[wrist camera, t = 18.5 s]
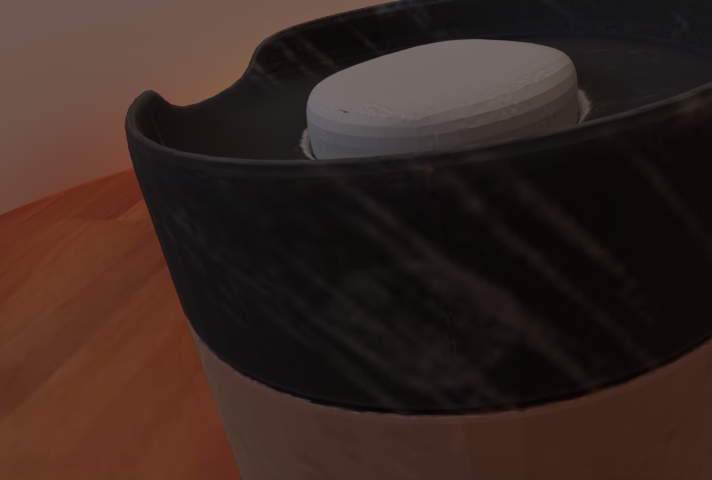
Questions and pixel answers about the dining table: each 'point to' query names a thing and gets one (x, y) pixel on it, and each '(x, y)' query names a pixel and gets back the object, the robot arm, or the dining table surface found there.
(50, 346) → the dining table surface
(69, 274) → the dining table surface
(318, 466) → the travel mug
